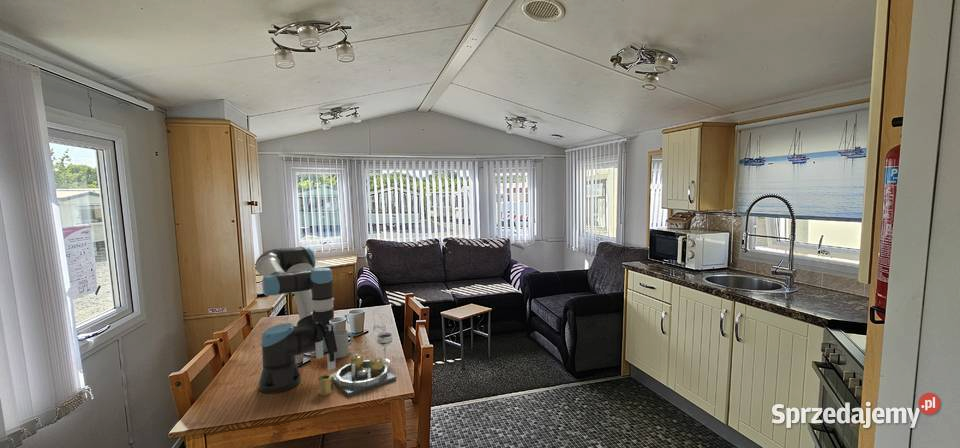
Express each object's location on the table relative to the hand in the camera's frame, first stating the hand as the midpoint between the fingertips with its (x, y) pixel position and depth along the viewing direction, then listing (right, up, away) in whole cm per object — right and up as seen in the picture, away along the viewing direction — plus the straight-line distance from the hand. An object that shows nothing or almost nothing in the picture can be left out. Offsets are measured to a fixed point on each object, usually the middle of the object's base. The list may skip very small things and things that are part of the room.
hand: (325, 363), depth 146 cm
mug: (-7, -9, +37) cm, 39 cm away
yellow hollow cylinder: (0, -12, +1) cm, 12 cm away
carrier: (+11, -11, +12) cm, 19 cm away
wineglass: (+16, -9, +29) cm, 34 cm away
